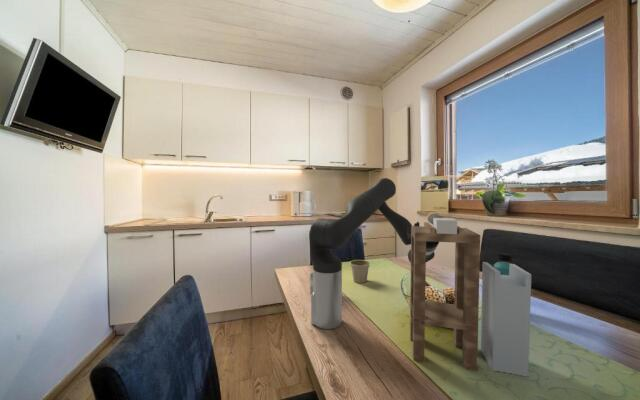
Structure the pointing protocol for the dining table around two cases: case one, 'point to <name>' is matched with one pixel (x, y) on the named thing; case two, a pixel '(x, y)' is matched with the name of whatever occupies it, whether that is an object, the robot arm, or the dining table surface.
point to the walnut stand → (465, 298)
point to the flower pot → (360, 270)
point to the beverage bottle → (503, 263)
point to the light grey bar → (443, 224)
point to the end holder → (506, 319)
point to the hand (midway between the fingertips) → (433, 225)
